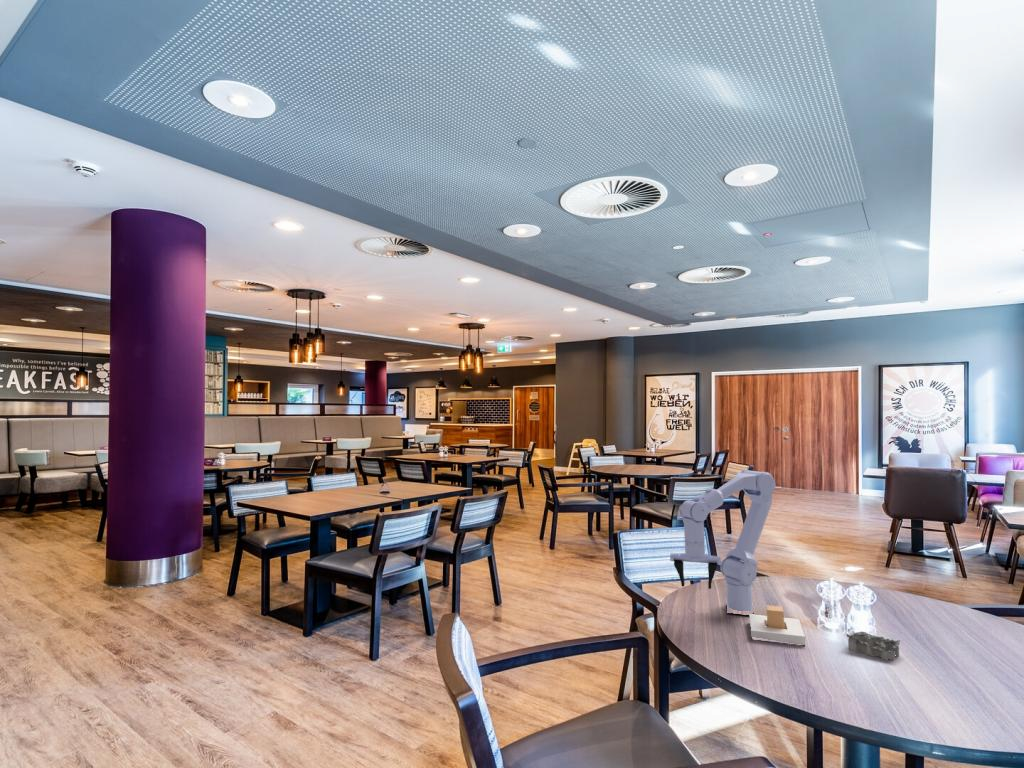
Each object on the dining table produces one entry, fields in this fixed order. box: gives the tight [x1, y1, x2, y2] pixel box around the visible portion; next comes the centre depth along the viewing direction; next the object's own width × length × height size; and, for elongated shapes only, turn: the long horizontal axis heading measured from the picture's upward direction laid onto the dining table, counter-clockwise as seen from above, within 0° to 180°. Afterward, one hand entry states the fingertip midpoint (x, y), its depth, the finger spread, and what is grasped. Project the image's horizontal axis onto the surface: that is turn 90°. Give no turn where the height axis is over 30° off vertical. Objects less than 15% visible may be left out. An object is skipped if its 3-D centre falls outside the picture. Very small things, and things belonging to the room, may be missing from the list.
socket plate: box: [748, 613, 806, 646], centre depth 153 cm, size 13×13×2 cm
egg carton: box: [846, 631, 901, 661], centre depth 141 cm, size 11×8×4 cm
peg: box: [766, 604, 785, 629], centre depth 153 cm, size 4×4×7 cm
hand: (696, 586), depth 166 cm, fingers open, 7 cm apart
